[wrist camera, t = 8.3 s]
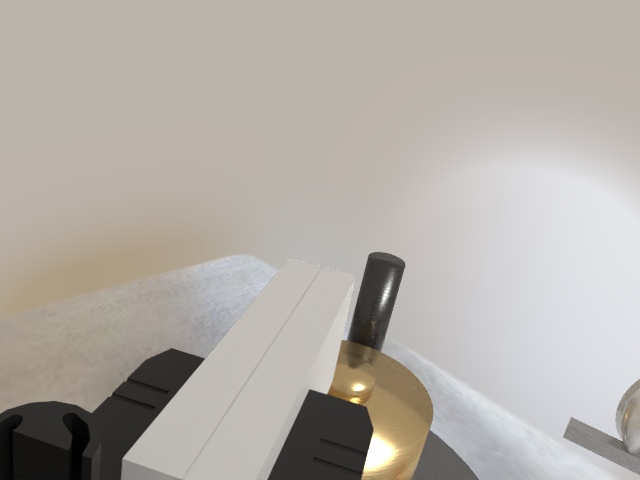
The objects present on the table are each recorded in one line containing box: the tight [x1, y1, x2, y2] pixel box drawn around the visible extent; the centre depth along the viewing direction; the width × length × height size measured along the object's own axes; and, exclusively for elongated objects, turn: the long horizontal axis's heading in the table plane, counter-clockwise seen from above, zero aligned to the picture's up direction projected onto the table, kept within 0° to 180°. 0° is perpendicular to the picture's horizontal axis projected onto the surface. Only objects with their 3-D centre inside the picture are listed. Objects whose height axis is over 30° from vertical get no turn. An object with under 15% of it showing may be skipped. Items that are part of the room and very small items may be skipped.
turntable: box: [347, 252, 479, 480], centre depth 33 cm, size 24×24×13 cm
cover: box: [327, 340, 433, 480], centre depth 34 cm, size 10×10×9 cm
